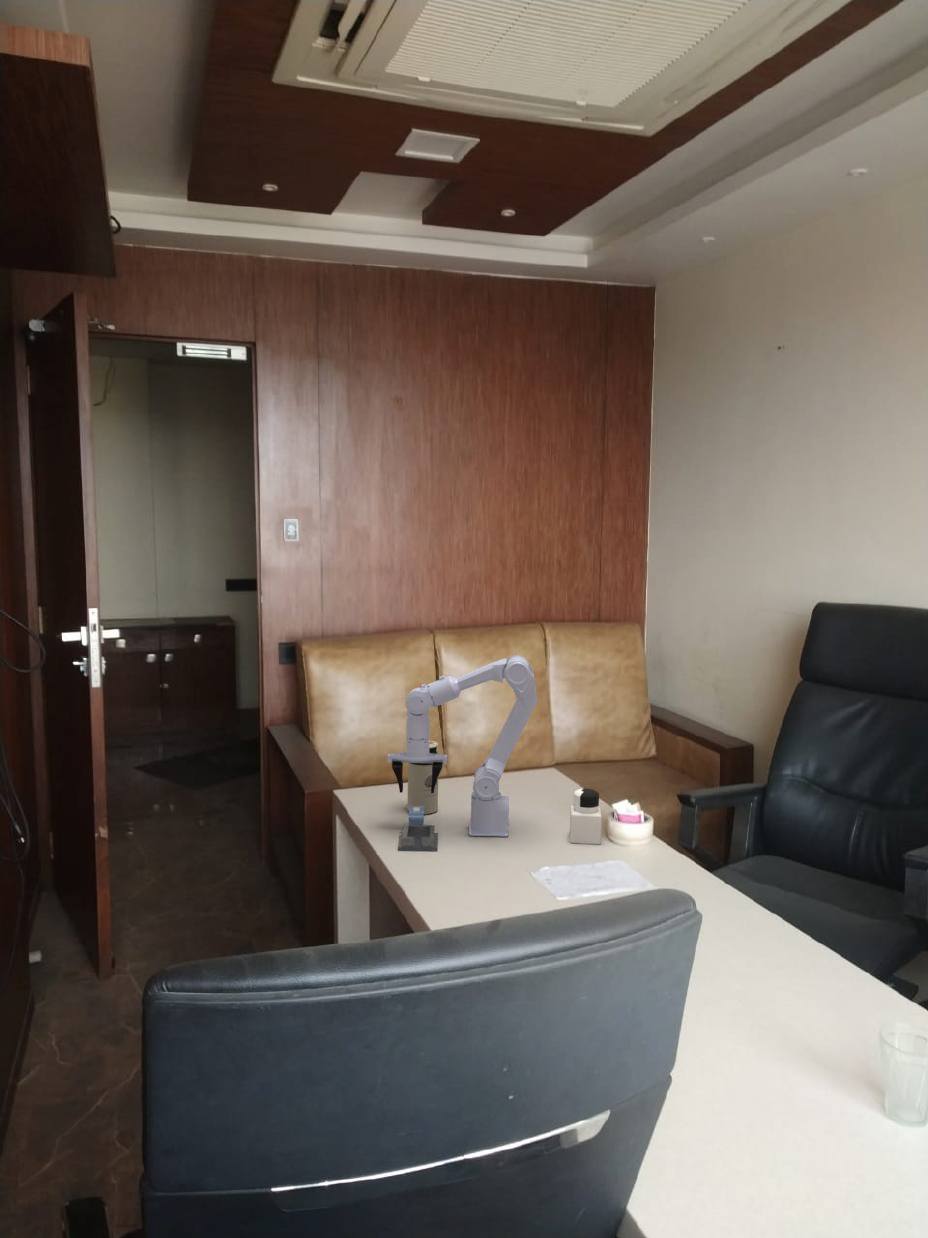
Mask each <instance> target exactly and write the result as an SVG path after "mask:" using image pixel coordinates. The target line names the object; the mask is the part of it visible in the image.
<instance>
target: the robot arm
mask: <svg viewBox="0 0 928 1238" xmlns="http://www.w3.org/2000/svg"><path fill="white" fill-rule="evenodd" d="M504 680H505V681H506V682H507V685H509V686H510V687H511V689H512V690H513V692H514V695H515V697H516V700H515V702H514V704H513V706H512V709H511V711H510V712H509V714H508V715H507V718H506V720H505V722H504V725H503V726H502V729H501V730H500V732H499V735H498V736H497V738H496V740H495V742H494V744H493V745H492V748H491V750H490V752H489V753H488V755H487V757H486V758H485V759H484V761H483V763H482V764H481V765H480V766H478V768H477V767H476V770H474V776H473V778H474V779H473V783H472V790H473V791H472V792H471V795H470V797H471V798H470V801H471V802H470V807H471V808H470V822H469V823H468V835H469V836H471V837H472V836H474V837H509V827H510V818H509V817H510V800H509V799H510V798H509V796H507V795H502V793H501V792H500V780H501V778H502V776H503V773H504V771H505V767H506V765H507V763H508V760H509V759H510V757H511V755H512V753H513V751H514V749H515V747H516V745H517V743H518V741H519V739H520V737H521V735H522V733H523V731H524V729H525V727H526V725H527V723H528V721H529V719H530V717H531V716H532V714H533V711H534V709H535V707H536V705H537V704H538V695H537V694H538V693H537V688H536V682H535V675H534V670H533V667H532V666H531V664H530V662H529V661H528V659H527V658H526V657H524V656H522V655H517V654H516V655H512V656H509V657H508V658H507V657H506V658H501V659H498V660H495V661H493V662H491V663H489V664H486V665H483V666H482V667H479V668H477V669H475V670H473V671H471V672H469V673H466V674H464V675H461V676H459V677H454V676H451V675H448V676H445V675H441V676H439V678H438V679H437V680H435V681H433V682H430V683H428V684H426V683H423V684H421V687H415V688H413V689H412V690H410V692H409V693H408V694H407V695H406V699H405V706H406V710H407V711H406V716H407V718H406V721H405V723H406V726H405V728H406V729H405V734H406V735H405V752H399V753H397V752H396V753H388V754H387V764H391V769H392V771H393V773H394V775H395V779H396V780H397V784H398V788H399V789H398V790H399V793H403V791H404V779H403V778H404V776H403V769H404V768H403V767H404V763H405V764H408V763H433V764H432V785H431V793H434V788H435V784H436V781H437V778H438V779H439V775H440V774H441V771H442V770H443V765H448V754H442V753H441V754H439V753H438V754H433V753H429V740H430V734H431V732H430V731H431V730H430V728H431V723H430V722H431V719H430V708H435V707H438V706H440V705H444V704H445V703H448V702H451V701H454V700H456V699H458V698H459V697H460V693H461V692H462V691H465V690H467V689H471V688H474V687H475V686H478V685H481V684H483V683H484V684H485V683H486V682H489V681H494V682H498V683H504Z"/></svg>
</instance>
